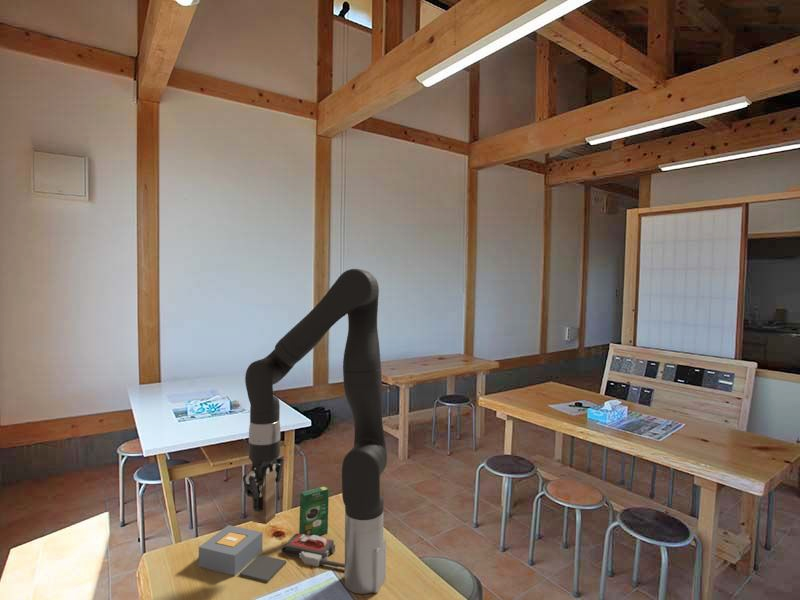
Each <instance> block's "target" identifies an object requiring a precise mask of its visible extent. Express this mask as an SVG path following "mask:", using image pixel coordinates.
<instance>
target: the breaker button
mask: <svg viewBox="0 0 800 600" xmlns="http://www.w3.org/2000/svg"><path fill="white" fill-rule="evenodd" d="M245 538H246V536H245V535H241V534H236V533H232V532H230V533H228V534H227V535H226V536H224V537H223V538H222V539H221V540H219V541H218V542H217V543H216V544H220V545H224V546H228V547H232V548H234V547H235V546H236V545H237V544H239V543H240V542H241V541H242V540H243V539H245Z"/></svg>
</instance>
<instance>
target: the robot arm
mask: <svg viewBox="0 0 800 600" xmlns="http://www.w3.org/2000/svg"><path fill="white" fill-rule="evenodd" d="M379 293H380V289H379V283H378V280H377V278H376V277H375V276H374V275H373V273H371V272H369V271H367V270H364V269H359V268H351V269H347V270H345V271H343V272H342V273H341V274H340V275H339V276H338V277H337V279H336V280H335V282H334V283H333V284H332V285H331V287H330V288H329V290H328V291H327V292H326V293H325V295H324V296H323V297H322V298H321V299H320V301H319V302H317V303H316V304H315V306H314V307H313V308H312V309H311V310H310V312H308V314H306V315H305V316H304V317H303V318H302V319H301V320H299V322H298V323H297V324H295V325H294V326H293V327H292V328H291V329H289V331H288V332H287V333H286V334H284V336H283V337H281V338H280V339H279V340H278V341H277V343H275V346H274V348H273V350H272V351H271V352H270V353H269V354H268V355H267V356H265V357H264V358H261V359H257V360H254V361H253V362H251V363H250V364H249V365H248V367H247V369H246V371H245V375H244V376H245V378H244V380H245V381H244V382H245V388H246V393H247V397H248V401H249V404H250V407H249V408H250V409H249V420H250V421H249V426H248V459H249V460H250V461H251V467H250V472H249V474H248V475H247V474H244V475H243V477H242V481H243V484H244V488H245V489H244V490H245V494H246V496H247V497H250V498H252V497H253V509H254V511H258V512H261V511H262V510H263V487H264V486H265V476H266V475H268V474H269V471H274V470H275V487H276V486H277V483H280V482H281V481H280V480H281V475H282V471H283V466H284V460H285V459H284V457H280V456H281V424H280V411H281V409H280V405H281V404H280V400H279V398H278V397H277V396H276V395H274V387H273V385H275V384H277V383H279V382H280V381H281V380H282V379H284V377H286V376H287V375H288V373H289V372H290V371H291V370H292V369H293V368H294V366H295V365H296V364H297V363H299V362H300V361H301V360H302V359H303V358H304V357H305V356H307V354H309V353H310V352H311V351H312V350H313V349H314V348H315V347H316V346H317V345H318V344H319V342H320V341H321V340H322V339H323V338H324V336H325V335H326V334H327V332H328V331H329V330H330V329H331V328H332V327H333V326H334V325H335V324H336V323H337V322H338V321H339V320H340V319H342V318H343V317H345V316H347V320H348V324H347V325H348V328H347V329H348V330H347V337H346V342H345V346H344V347H345V348H344V351H343V358H342V359H343V361H342V372H343V373H342V374H343V375H342V376H343V390H344V395H345V398H346V400H347V403H348V406H349V408H350V411H351V414H352V417H353V423H354V425H353V426H354V437H353V438H354V442H353V447H352V449H350V450H349V451H348V452H347V453H346V455H345V456H344V458H343V460H342V461H343V462H342V465H341V492H342V493H341V495H342V502H343V504H344V507H345V508H344V519H345V520H344V564H345V568H344V571H343V572H344V576H343V577H344V580H343V581H344V586H345V587H346V588H347V590H349V591H350V592H352V593H355V594H360V595H361V594H364V595H365V594H370V593H373V594H377V593H378V592H379V590H380V588H381V586H382V585H383V583H384V581H385V580H386V578H387V577H386V573H387V572H386V571H387V570H386V569H387V567H386V566H387V551H386V550H387V540H386V538H384V508H385V507H384V505H385V503H384V498H383V497H382V495H381V491H380V490H381V488H380V484H381V483H380V482H381V481H380V480H381V479H380V478H381V475H382V474H383V472H384V471H385V469H386V467H387V465H388V452H387V445H386V439H385V438H386V437H385V432H384V431H385V430H384V425H383V424H384V423H383V393H382V392H383V388H382V387H383V386H382V383H383V382H382V378H383V377H382V364H381V363H382V362H381V352H380V350H381V347H380V341H379V334H378V333H379V330H378V312H379V311H378V310H379V308H378V307H379ZM256 480H257V481H262V483H258V482H256ZM257 486H258V487H259V491H258V489H257Z"/></svg>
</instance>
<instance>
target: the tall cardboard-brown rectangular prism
mask: <svg viewBox="0 0 800 600" xmlns="http://www.w3.org/2000/svg"><path fill="white" fill-rule="evenodd" d="M256 482H258V483H262V481H257V480H256ZM257 489H258V491H259V487H258V486H257ZM275 518H276V486H275V470H274V471H269V474H268V475H266V476H265V486H264V487H263V510H262V511H261V512H258V511H254V509H253V497H251V522H252V523H256V524H257V523H258V524H260V525H261V524H263V525H268V523H269V522H270V521H273V519H275Z"/></svg>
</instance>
